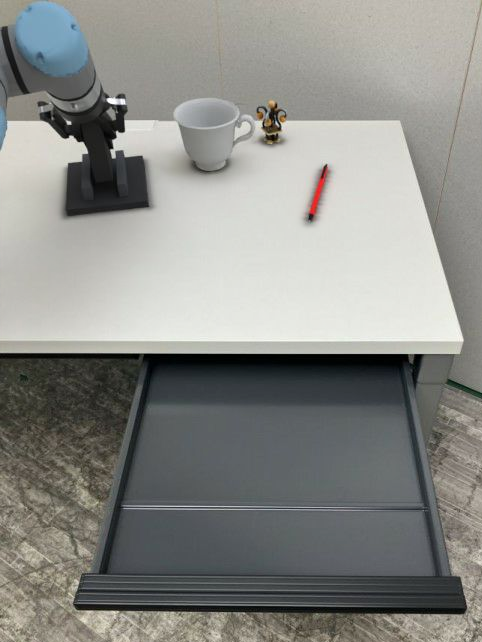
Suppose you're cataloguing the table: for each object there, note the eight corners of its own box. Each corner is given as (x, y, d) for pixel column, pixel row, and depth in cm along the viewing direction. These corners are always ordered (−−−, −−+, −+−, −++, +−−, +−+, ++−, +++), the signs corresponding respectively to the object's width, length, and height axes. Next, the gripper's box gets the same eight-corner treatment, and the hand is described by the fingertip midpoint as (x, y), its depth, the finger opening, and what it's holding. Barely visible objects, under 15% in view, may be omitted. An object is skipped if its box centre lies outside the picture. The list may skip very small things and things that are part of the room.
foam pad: (95, 182, 103) (79, 120, 95) (95, 159, 108) (80, 99, 100) (113, 180, 103) (98, 118, 95) (112, 157, 109) (98, 97, 100)
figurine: (254, 136, 121) (255, 97, 114) (275, 131, 122) (277, 92, 116) (265, 148, 118) (266, 109, 112) (286, 143, 120) (289, 104, 114)
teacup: (251, 183, 109) (249, 131, 102) (172, 177, 111) (165, 125, 103) (260, 151, 117) (259, 100, 110) (187, 146, 118) (181, 95, 111)
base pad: (67, 215, 102) (61, 196, 100) (69, 168, 113) (64, 150, 110) (148, 206, 104) (145, 187, 101) (143, 161, 115) (140, 142, 112)
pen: (328, 167, 113) (329, 161, 112) (311, 223, 101) (312, 218, 100) (324, 166, 113) (324, 161, 112) (306, 223, 101) (307, 217, 100)
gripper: (19, 119, 82) (57, 168, 105) (136, 108, 84) (148, 159, 107) (9, 64, 81) (50, 125, 105) (127, 54, 84) (141, 117, 107)
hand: (99, 142), depth 106 cm, fingers closed on foam pad, 3 cm apart
